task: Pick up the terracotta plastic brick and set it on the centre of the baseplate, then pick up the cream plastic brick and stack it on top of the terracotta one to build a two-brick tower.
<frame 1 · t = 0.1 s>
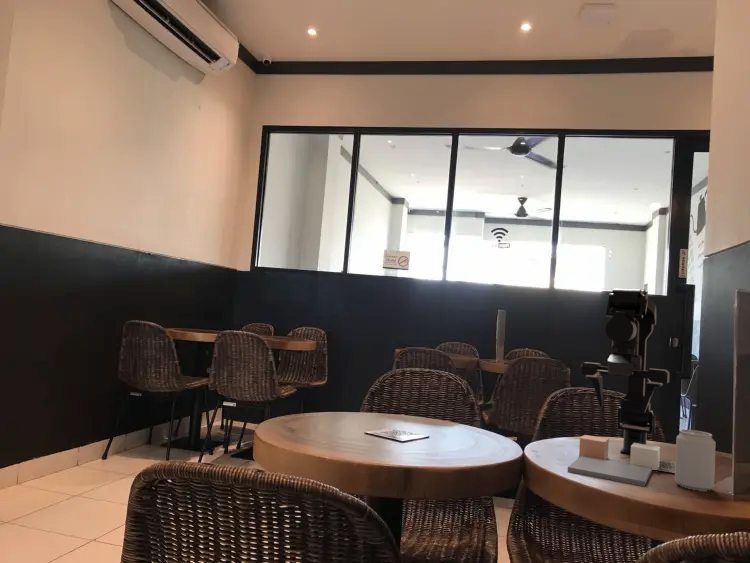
hand: (622, 409, 134), 15 cm above the table, fingers open, 9 cm apart
brick cream: (644, 467, 143), on the table
baseplate: (610, 471, 134), on the table
brick terracotta: (593, 458, 149), on the table
can: (693, 488, 126), on the table
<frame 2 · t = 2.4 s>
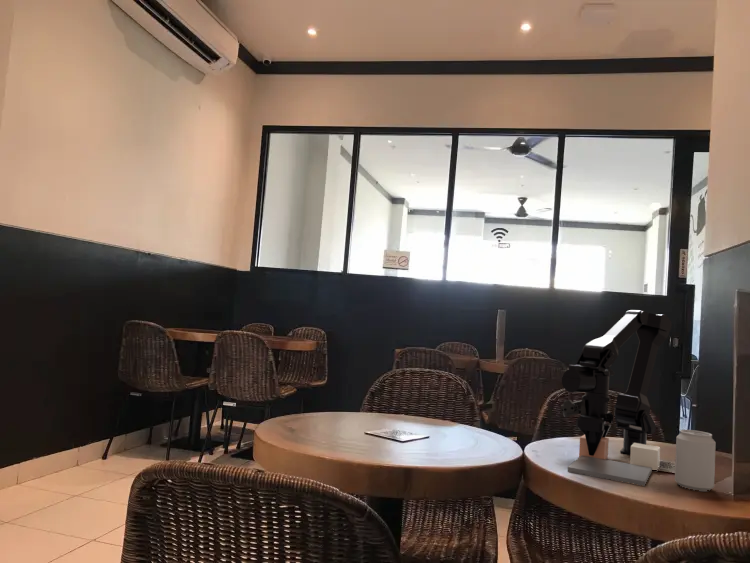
hand: (593, 453, 149), 1 cm above the table, fingers closed on brick terracotta, 6 cm apart
brick terracotta: (593, 457, 149), on the table, touching gripper
everything else where it was.
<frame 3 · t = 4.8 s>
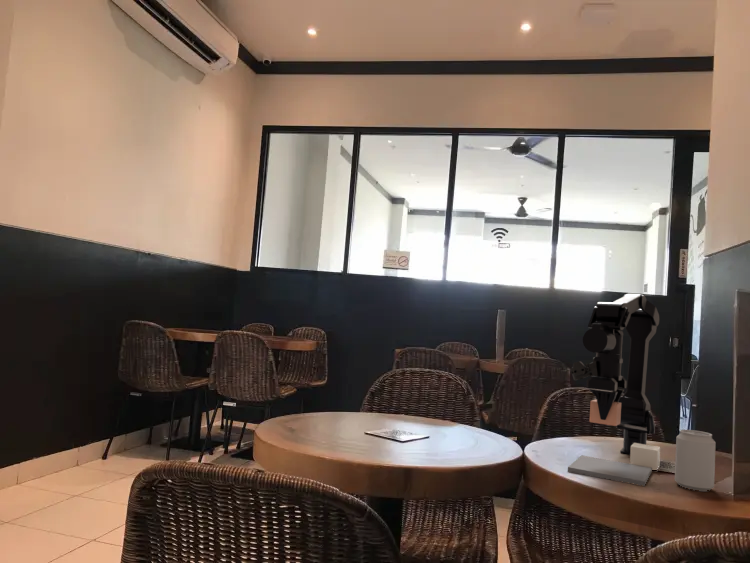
hand: (605, 418, 140), 12 cm above the table, fingers closed on brick terracotta, 6 cm apart
brick terracotta: (604, 422, 140), point 10 cm above the table, touching gripper
everything else where it was.
when the fingers open (3 cm above the table, at t = 7.5 s): brick terracotta stays where it is, resting on baseplate.
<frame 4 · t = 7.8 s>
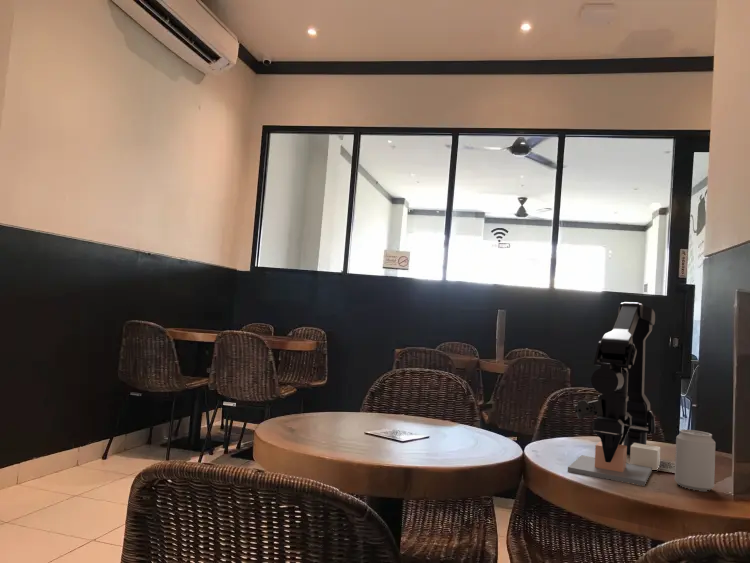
hand: (611, 458, 135), 3 cm above the table, fingers open, 9 cm apart
brick terracotta: (610, 467, 135), point 1 cm above the table, touching baseplate
everything else where it was.
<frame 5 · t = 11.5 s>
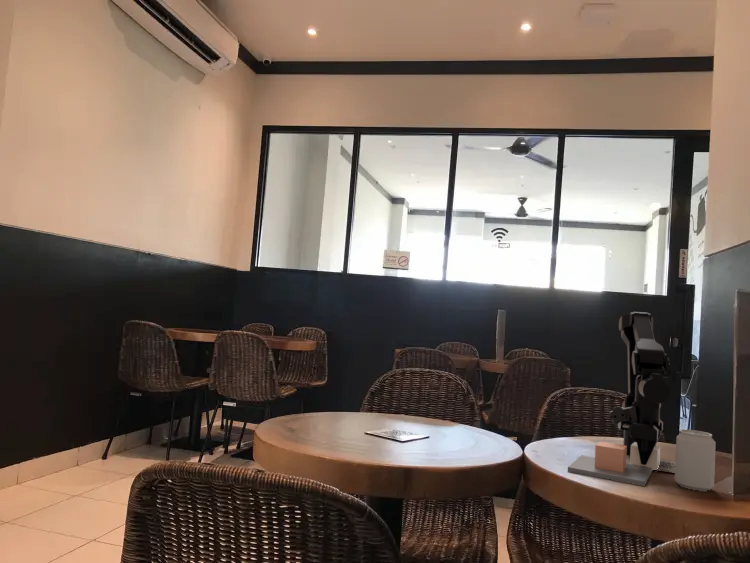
hand: (644, 462, 143), 1 cm above the table, fingers closed on brick cream, 6 cm apart
brick cream: (644, 466, 143), on the table, touching gripper
everything else where it was.
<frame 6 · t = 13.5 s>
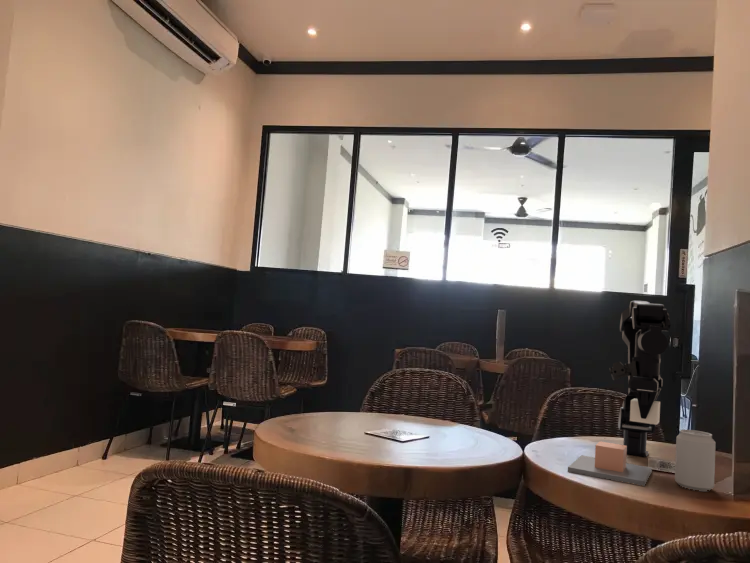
hand: (644, 417, 143), 12 cm above the table, fingers closed on brick cream, 6 cm apart
brick cream: (644, 421, 143), point 11 cm above the table, touching gripper
everything else where it was.
when the fingers open (8 cm above the table, at t = 15.7 s): brick cream stays where it is, resting on brick terracotta.
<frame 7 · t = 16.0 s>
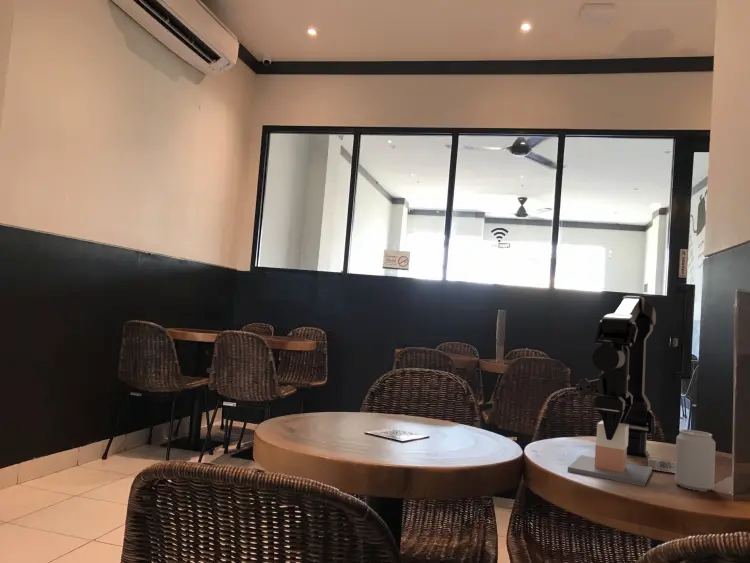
hand: (612, 436, 135), 8 cm above the table, fingers open, 9 cm apart
brick cream: (612, 445, 135), point 6 cm above the table, touching brick terracotta
brick terracotta: (610, 467, 135), point 1 cm above the table, touching baseplate, brick cream
everything else where it was.
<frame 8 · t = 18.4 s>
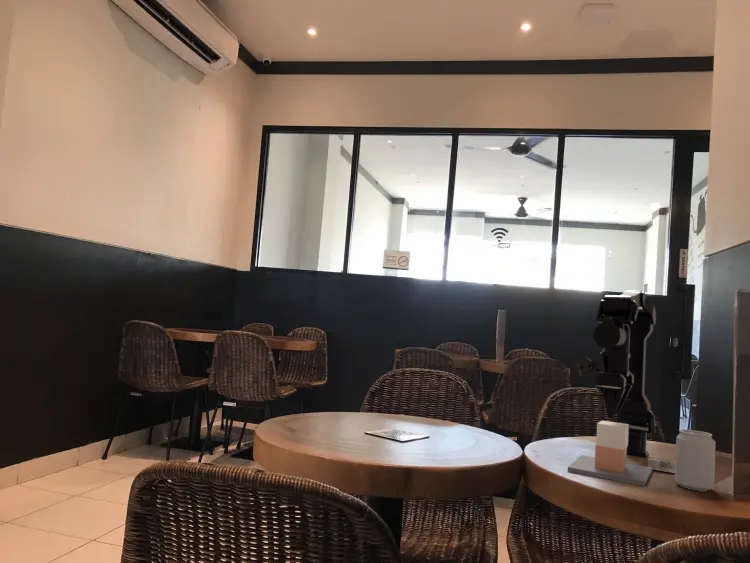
hand: (613, 415, 135), 13 cm above the table, fingers open, 9 cm apart
nothing on the table moved.
at the end: brick terracotta 0.1 cm off-centre on the baseplate, point 1.0 cm above the baseplate's base; brick cream 0.2 cm off-centre on the brick terracotta, point 5.0 cm above the brick terracotta's base; brick cream tilted 0° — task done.
